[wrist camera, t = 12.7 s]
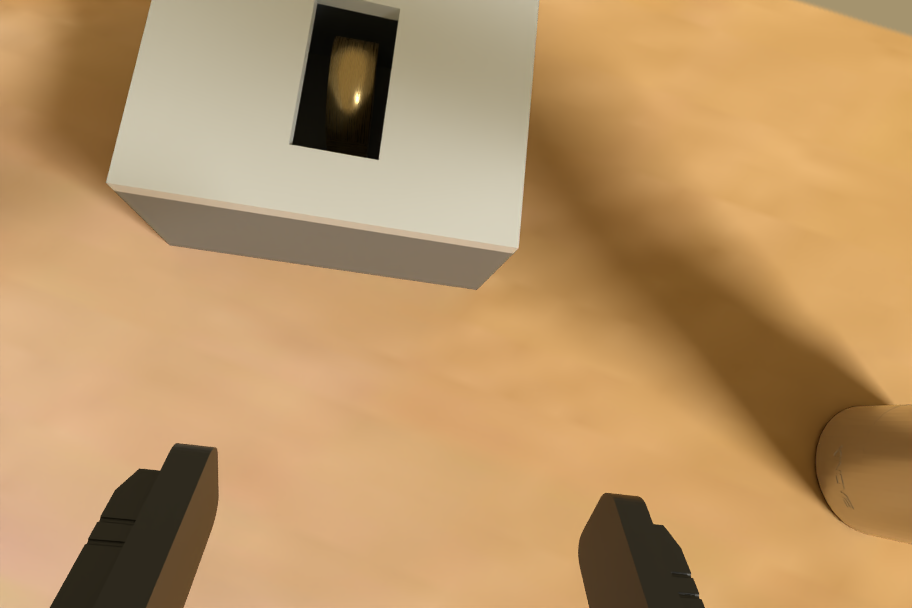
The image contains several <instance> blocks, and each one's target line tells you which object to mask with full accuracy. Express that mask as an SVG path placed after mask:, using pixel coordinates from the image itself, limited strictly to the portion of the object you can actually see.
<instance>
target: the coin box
mask: <svg viewBox="0 0 912 608" xmlns="http://www.w3.org/2000/svg"><path fill="white" fill-rule="evenodd" d="M538 9H539V0H152V1H151V5H150V9H149V13H148V17H147V21H146V25H145V29H144V33H143V37H142V41H141V45H140V49H139V53H138V57H137V61H136V65H135V69H134V73H133V77H132V81H131V85H130V89H129V93H128V97H127V101H126V105H125V109H124V113H123V117H122V121H121V125H120V129H119V133H118V137H117V141H116V145H115V149H114V153H113V157H112V161H111V165H110V169H109V173H108V177H107V181H106V183H107V184H108V185H109V186H110V187H111V188H112V189H113V190H114V191H115V192H116V193H117V194H118V195H119V196H120V197H121V198H122V199H123V200H124V201H125V202H126V203H127V204H128V205H129V206H130V207H131V208H132V209H133V210H134V211H135V212H136V213H137V214H138V215H139V216H141V217H142V218H143V219H144V220H145V221H146V222H147V223H148V224H149V225H150V226H151V227H152V228H153V229H154V230H155V231H156V232H157V233H158V234H159V235H160V236H161V237H162V238H163V239H164V240H165V241H166V242H167V243H168V244H169V245H172V246H179V247H186V248H193V249H199V250H206V251H213V252H220V253H227V254H234V255H241V256H248V257H254V258H261V259H268V260H275V261H282V262H289V263H296V264H303V265H310V266H316V267H323V268H330V269H337V270H344V271H351V272H358V273H365V274H371V275H378V276H385V277H392V278H399V279H406V280H413V281H420V282H426V283H433V284H440V285H447V286H454V287H461V288H468V289H475V290H477V289H478V288H479V287H480V286H481V285H482V284H483V283H484V282H485V281H486V280H487V279H488V278H489V277H490V276H491V275H492V274H493V273H494V272H495V271H496V270H497V269H498V268H499V267H500V266H501V265H502V264H503V263H504V262H505V261H506V260H507V259H508V258H509V257H510V256H511V255H512V254H513V253H514V252H515V251H516V250H517V249H518V248H519V237H520V225H521V213H522V201H523V189H524V177H525V165H526V153H527V141H528V129H529V117H530V105H531V93H532V81H533V69H534V57H535V45H536V33H537V21H538ZM335 36H341V37H346V38H352V39H357V40H363V41H368V42H373V43H379V47H378V59H377V71H376V83H375V95H374V105H373V114H372V123H371V131H370V140H369V148H368V157H367V158H363V157H358V156H352V155H347V154H341V153H335V152H330V151H327V148H326V133H325V123H326V101H327V88H328V77H329V68H330V60H331V54H332V48H333V43H334V39H335Z"/></svg>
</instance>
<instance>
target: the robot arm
mask: <svg viewBox="0 0 912 608" xmlns="http://www.w3.org/2000/svg"><path fill="white" fill-rule="evenodd" d="M816 470H817V477H818V481H819V485H820V488H821V491H822V493H823V495H824V497H825V499H826V502H827V503H828V504H829V506H830V507H831V509H832V510H833V512H834V513H835V514H836V515H837V516H838V517H839V518H840V519H841V520H842V521H843V522H844V523H845V524H847V525H848V526H850V527H851V528H853V529H854V530H856V531H859V532H862V533H864V534H867V535H872V536H876V537H881V538H885V539H890V540H894V541H899V542H903V543H908V544H912V405H877V406H855V407H851V408H848V409H845V410H843V411H841V412H840V413H838V414H837V415H835V416H834V417H833V418H832V419H831V420H830V421H829V422H828V424H827V425H826V426H825V428H824V430H823V432H822V434H821V436H820V439H819V443H818V446H817V453H816ZM217 506H218V452H217V448H215V447H207V446H198V445H189V444H180V443H176V444H175V445H174V446H173V447H172V449H171V450H170V452H169V454H168V456H167V458H166V460H165V462H164V464H163V466H162V468H161V470H160V471H158V470H148V469H139V470H137V471H136V472H135V473H134V474H133V475H132V476H131V477H130V478H128V479H127V480H126V481H125V482H124V483H123V484H122V485H120V486H119V487H118V488H117V489H116V490H115V491H114V493H113V495H112V497H111V499H110V500H109V502H108V504H107V506H106V508H105V509H104V511H103V513H102V515H101V517H100V521H99V522H97V524H96V526H95V527H94V529H93V531H92V533H91V535H90V536H89V538H88V543H87V544H85V545H84V547H83V549H82V551H81V553H80V554H79V556H78V558H77V560H76V562H75V563H74V565H73V567H72V569H71V571H70V572H69V574H68V576H67V578H66V580H65V581H64V583H63V585H62V587H61V589H60V590H59V592H58V594H57V596H56V598H55V599H54V601H53V603H52V605H51V606H50V608H183V607H184V605H185V602H186V599H187V596H188V594H189V591H190V588H191V585H192V583H193V580H194V577H195V574H196V571H197V569H198V566H199V563H200V560H201V558H202V555H203V552H204V549H205V547H206V544H207V541H208V538H209V535H210V533H211V530H212V527H213V524H214V520H215V516H216V511H217ZM578 557H579V565H580V569H581V574H582V578H583V582H584V587H585V591H586V595H587V600H588V604H589V608H705V607H704V604H703V602H702V599H699V592H698V589H697V587H696V584H695V582H694V579H693V578H691V572H690V569H689V567H688V564H687V562H686V559H685V557H684V554H683V552H682V549H681V548H680V546H679V545H678V544H677V542H676V541H675V540H674V538H673V537H672V536H671V535H670V533H669V532H668V531H667V529H666V528H665V527H664V526H663V525H656V524H653V522H652V520H651V517H650V514H649V512H648V509H647V506H646V504H645V502H644V500H643V499H642V498H640V497H638V496H630V495H621V494H612V493H605V494H603V495H602V496H601V498H600V500H599V502H598V504H597V506H596V507H595V509H594V511H593V513H592V515H591V517H590V519H589V521H588V522H587V524H586V526H585V528H584V530H583V532H582V534H581V537H580V540H579V548H578Z"/></svg>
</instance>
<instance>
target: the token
mask: <svg viewBox="0 0 912 608" xmlns="http://www.w3.org/2000/svg"><path fill="white" fill-rule="evenodd" d="M378 47H379V43H373V42H368V41H363V40H357V39H352V38H346V37H341V36H335V39H334V43H333V48H332V54H331V60H330V68H329V77H328V88H327V101H326V123H325V133H326V148H327V151H330V152H335V153H341V154H347V155H352V156H358V157H363V158H367V157H368V148H369V140H370V131H371V123H372V114H373V105H374V95H375V83H376V71H377V59H378Z"/></svg>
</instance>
